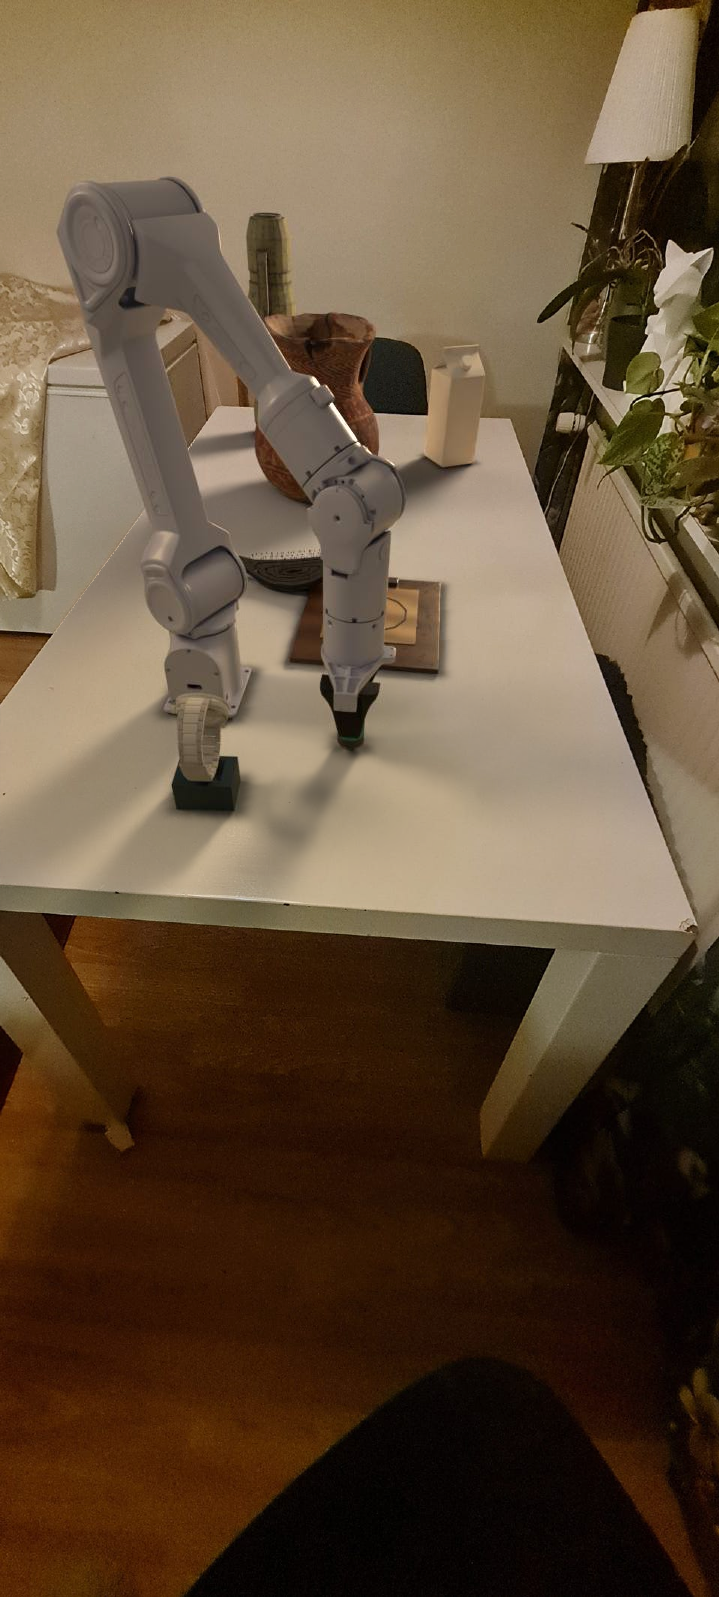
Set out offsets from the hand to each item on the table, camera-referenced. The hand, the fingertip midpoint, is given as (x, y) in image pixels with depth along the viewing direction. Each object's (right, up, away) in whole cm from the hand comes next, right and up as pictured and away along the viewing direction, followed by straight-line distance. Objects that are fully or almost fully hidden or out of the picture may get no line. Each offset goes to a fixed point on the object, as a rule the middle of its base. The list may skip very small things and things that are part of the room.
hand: (351, 725), depth 73 cm
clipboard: (+2, +16, +20) cm, 26 cm away
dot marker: (0, -1, +1) cm, 2 cm away
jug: (-6, +47, +52) cm, 70 cm away
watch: (-14, -7, -4) cm, 16 cm away
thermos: (-16, +67, +72) cm, 99 cm away
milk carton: (+18, +58, +64) cm, 89 cm away
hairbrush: (-14, +24, +27) cm, 39 cm away
